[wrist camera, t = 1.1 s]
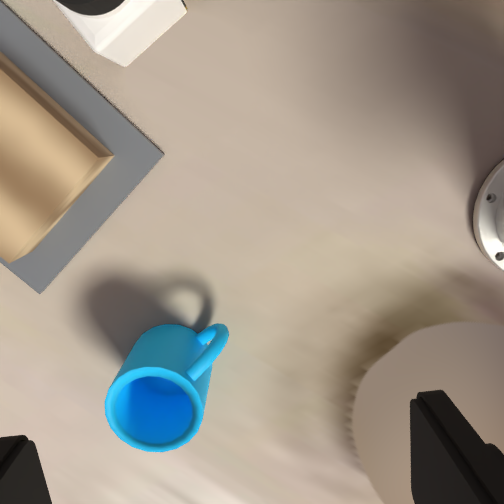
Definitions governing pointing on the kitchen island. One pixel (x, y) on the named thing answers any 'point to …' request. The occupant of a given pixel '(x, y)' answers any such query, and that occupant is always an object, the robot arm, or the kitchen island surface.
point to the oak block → (39, 162)
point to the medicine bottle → (121, 24)
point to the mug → (164, 386)
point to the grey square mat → (95, 122)
